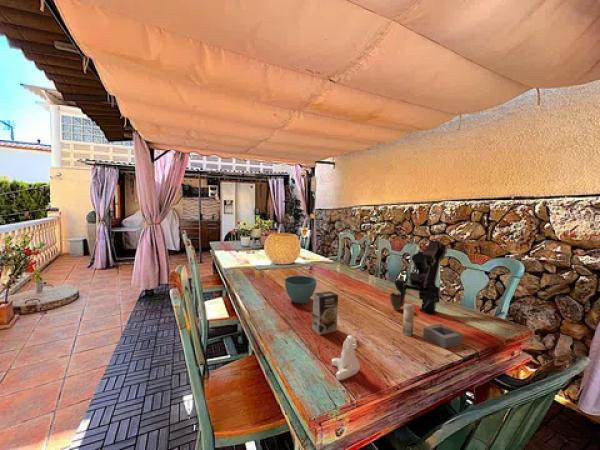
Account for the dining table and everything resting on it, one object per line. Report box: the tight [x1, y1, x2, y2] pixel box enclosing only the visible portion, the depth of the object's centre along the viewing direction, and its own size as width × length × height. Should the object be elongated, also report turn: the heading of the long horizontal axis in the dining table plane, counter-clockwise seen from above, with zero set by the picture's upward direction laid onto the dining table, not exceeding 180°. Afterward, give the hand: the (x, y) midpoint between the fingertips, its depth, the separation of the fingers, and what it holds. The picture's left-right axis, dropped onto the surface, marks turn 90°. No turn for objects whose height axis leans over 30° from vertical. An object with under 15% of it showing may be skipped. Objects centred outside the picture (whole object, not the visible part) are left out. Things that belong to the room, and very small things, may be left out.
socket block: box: [422, 323, 464, 349], centre depth 106 cm, size 10×10×4 cm
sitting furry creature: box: [331, 334, 361, 381], centre depth 84 cm, size 10×9×12 cm
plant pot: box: [284, 275, 317, 304], centre depth 148 cm, size 18×18×12 cm
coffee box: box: [311, 291, 339, 336], centre depth 112 cm, size 9×6×16 cm
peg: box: [402, 303, 415, 337], centre depth 111 cm, size 4×4×12 cm
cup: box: [389, 292, 406, 311], centre depth 138 cm, size 8×7×8 cm
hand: (412, 305), depth 114 cm, fingers open, 9 cm apart
